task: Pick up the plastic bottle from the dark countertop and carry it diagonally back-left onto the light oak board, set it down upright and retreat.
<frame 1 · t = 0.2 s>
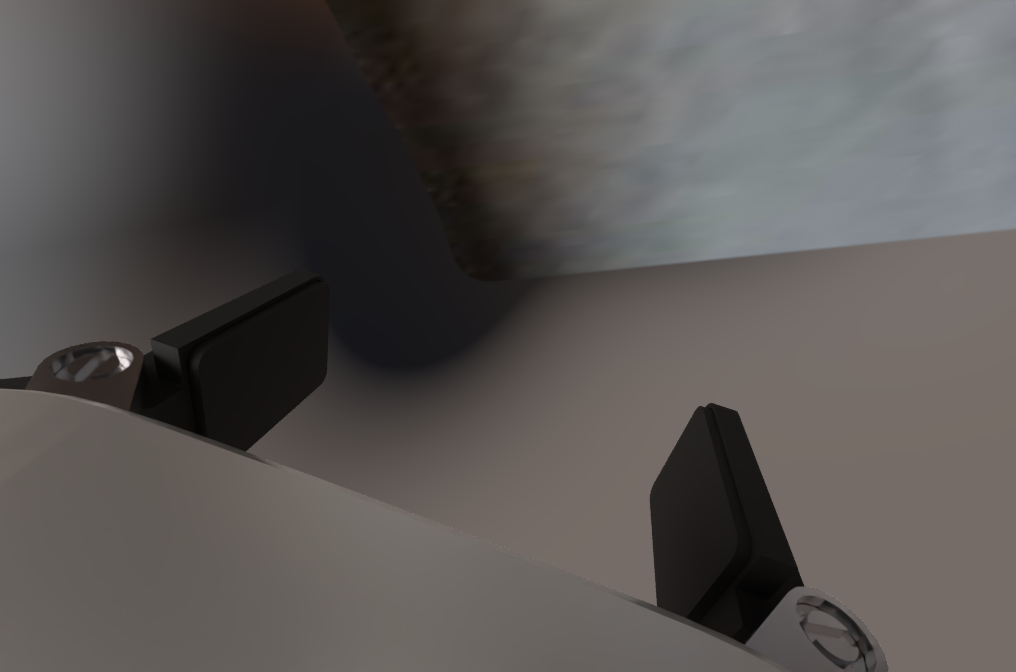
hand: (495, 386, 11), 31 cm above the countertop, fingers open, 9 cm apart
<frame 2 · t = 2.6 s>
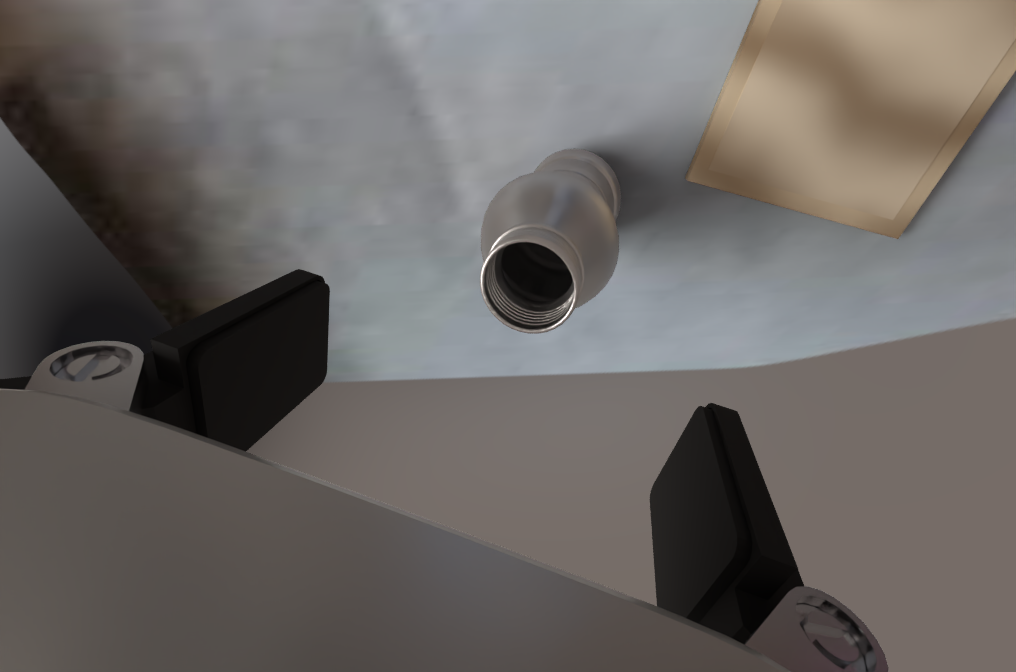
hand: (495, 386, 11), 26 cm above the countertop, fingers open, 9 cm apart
oak board: (845, 92, 27), on the countertop
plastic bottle: (576, 192, 33), on the countertop
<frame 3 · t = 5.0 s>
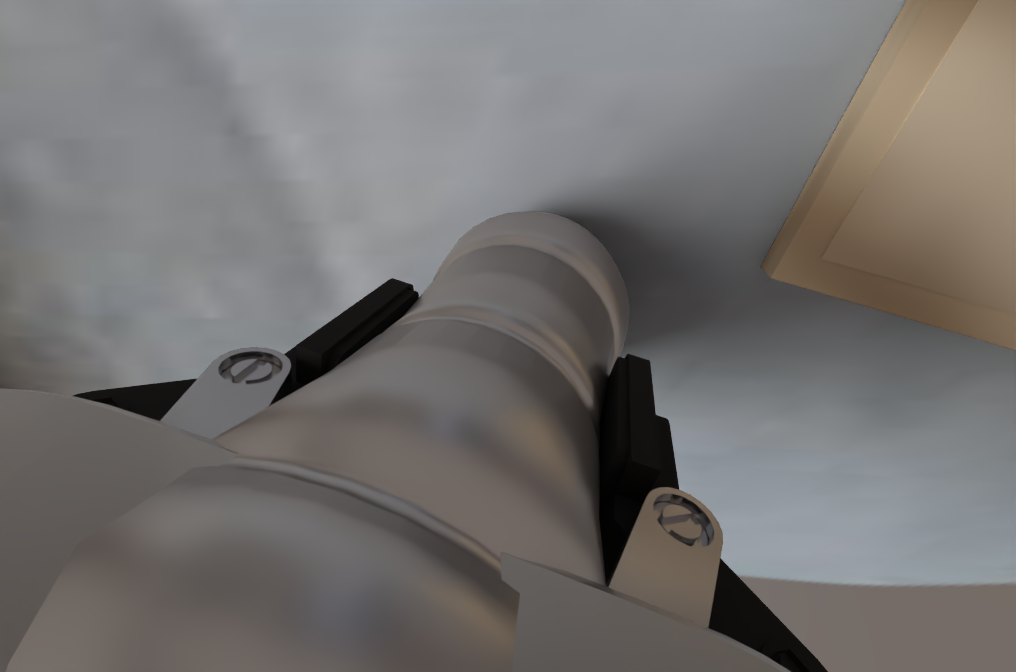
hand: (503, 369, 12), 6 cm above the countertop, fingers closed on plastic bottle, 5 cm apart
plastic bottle: (543, 283, 17), on the countertop, touching gripper
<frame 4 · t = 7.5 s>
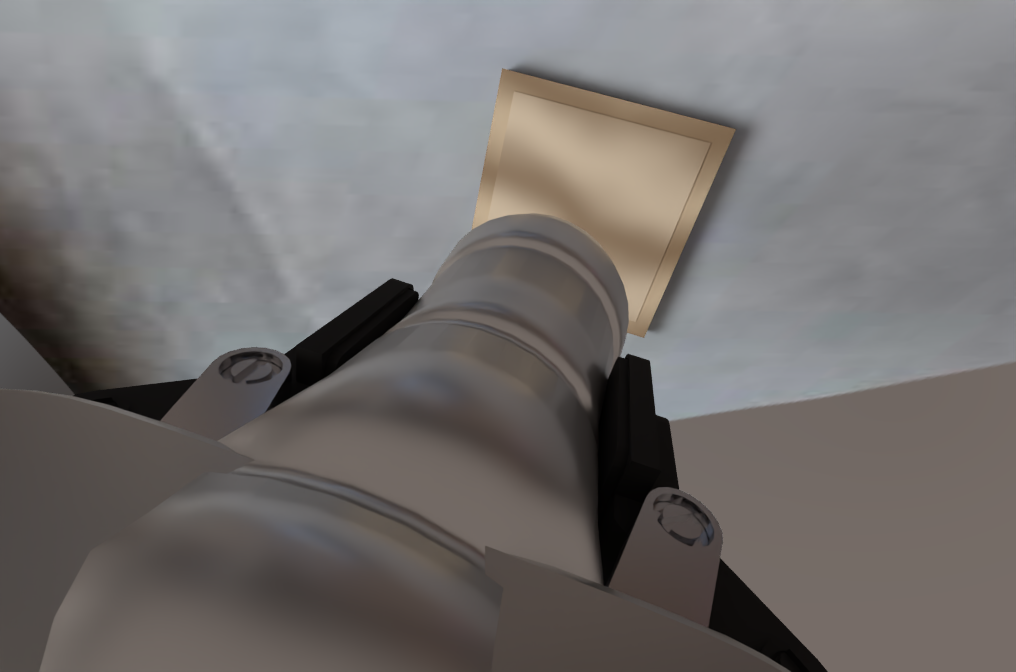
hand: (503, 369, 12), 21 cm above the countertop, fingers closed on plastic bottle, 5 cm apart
oak board: (581, 212, 30), on the countertop
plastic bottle: (542, 285, 17), point 15 cm above the countertop, touching gripper
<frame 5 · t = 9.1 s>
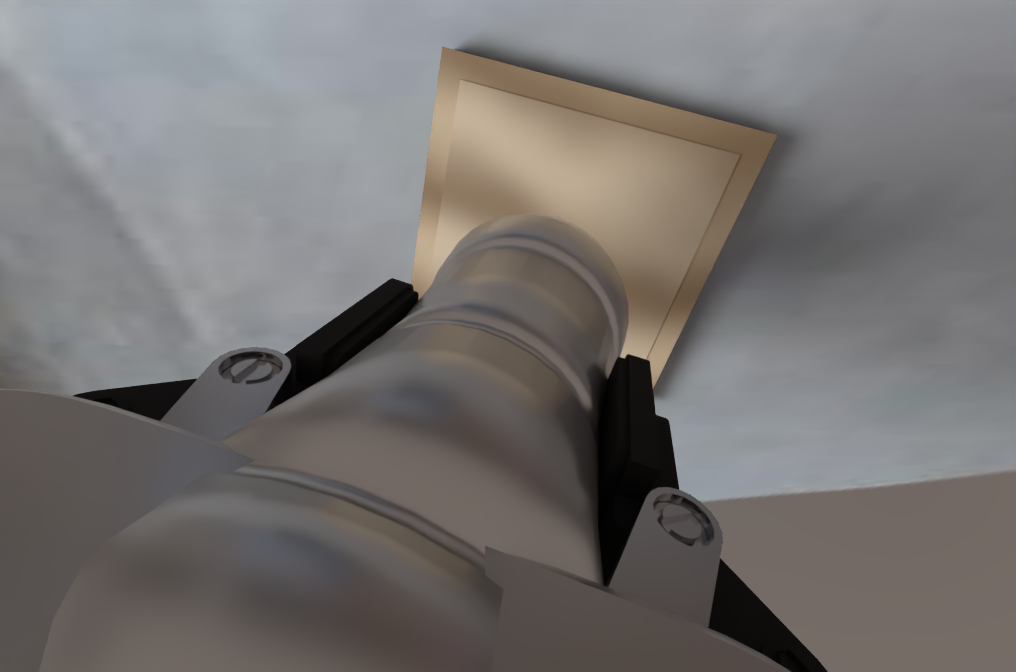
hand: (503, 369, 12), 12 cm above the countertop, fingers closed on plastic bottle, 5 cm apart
oak board: (559, 245, 22), on the countertop
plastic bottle: (542, 285, 17), point 6 cm above the countertop, touching gripper
when the fingers open (9 cm above the countertop, at t = 10.3 s): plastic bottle moves 1 cm, resting on oak board.
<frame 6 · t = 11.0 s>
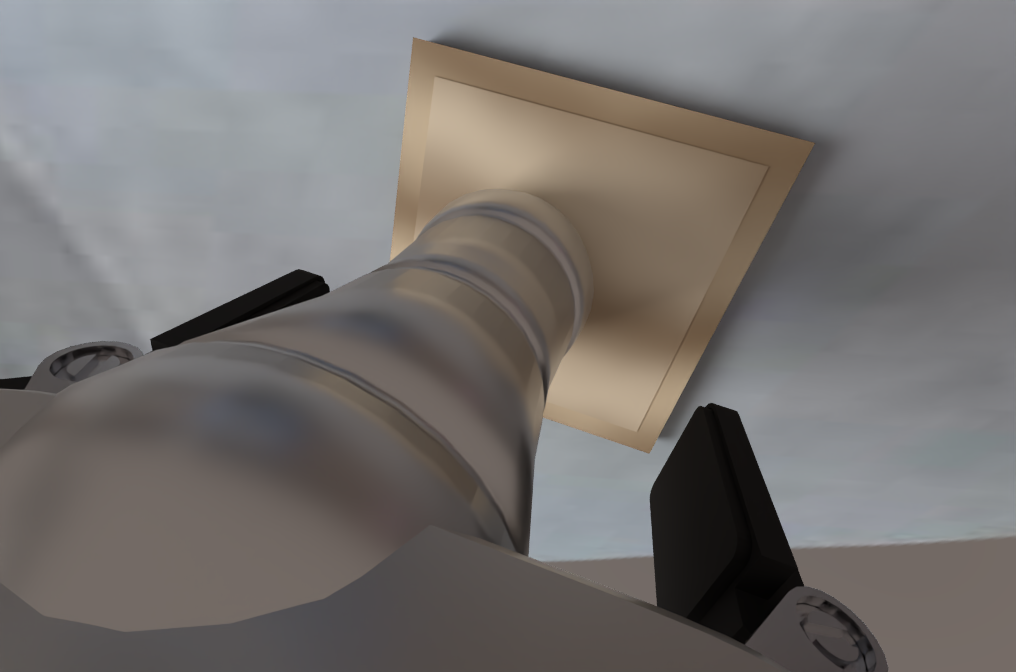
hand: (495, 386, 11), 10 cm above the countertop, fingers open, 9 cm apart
oak board: (552, 267, 19), on the countertop
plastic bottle: (518, 261, 18), point 1 cm above the countertop, touching gripper, oak board
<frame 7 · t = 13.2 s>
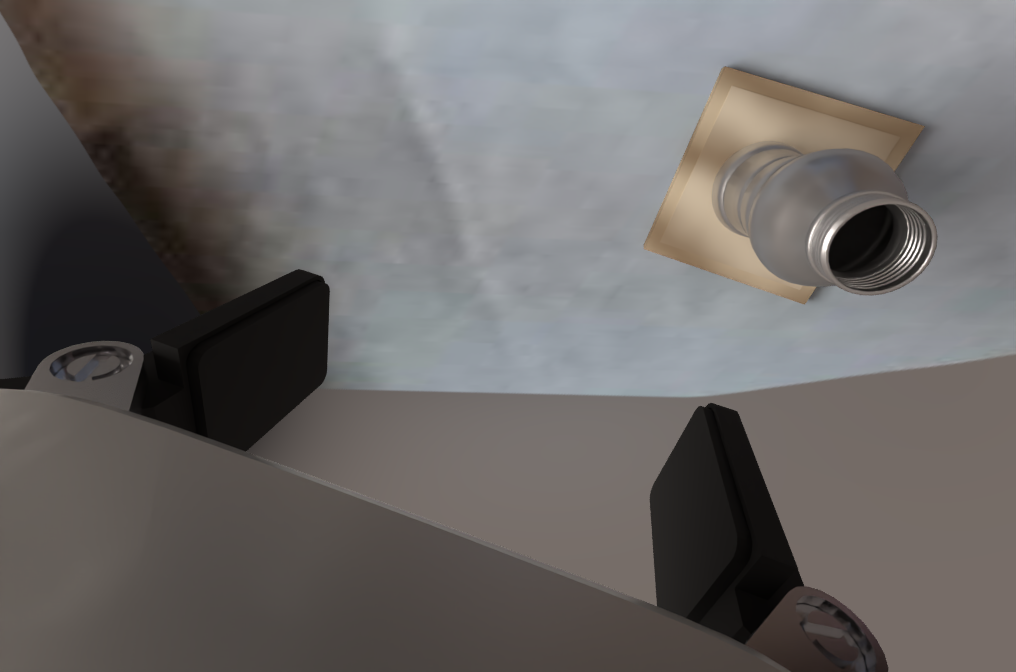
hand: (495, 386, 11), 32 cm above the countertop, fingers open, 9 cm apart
oak board: (763, 192, 35), on the countertop
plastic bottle: (751, 186, 34), point 1 cm above the countertop, touching oak board
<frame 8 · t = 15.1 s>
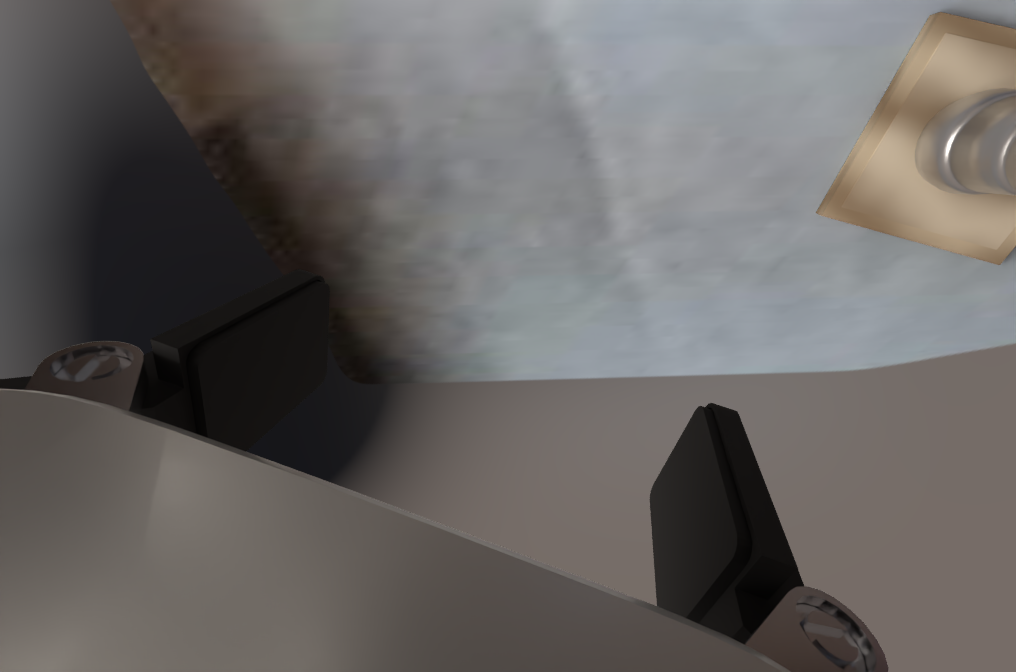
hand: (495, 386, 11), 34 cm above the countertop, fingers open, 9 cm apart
oak board: (961, 148, 33), on the countertop
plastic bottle: (953, 141, 32), point 1 cm above the countertop, touching oak board
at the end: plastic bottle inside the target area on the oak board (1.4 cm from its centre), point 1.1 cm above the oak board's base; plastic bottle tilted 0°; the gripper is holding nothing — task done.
